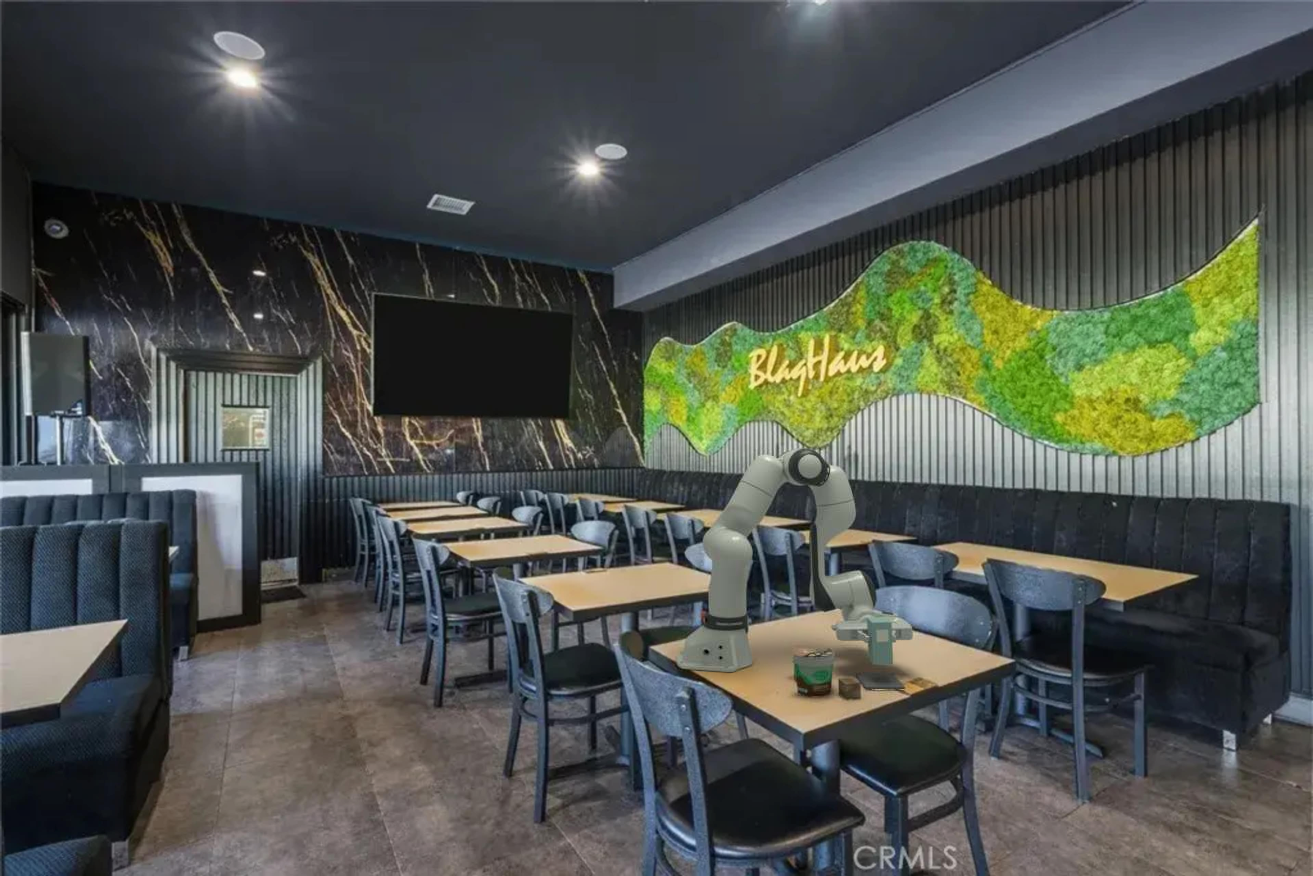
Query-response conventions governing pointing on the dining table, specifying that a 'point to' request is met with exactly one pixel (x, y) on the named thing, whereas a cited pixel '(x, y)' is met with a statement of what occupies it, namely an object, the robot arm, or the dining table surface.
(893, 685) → the mat
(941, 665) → the dining table surface
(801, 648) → the tan rounded cylinder
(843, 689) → the walnut cube
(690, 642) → the robot arm
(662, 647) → the dining table surface
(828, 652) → the food container
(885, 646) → the tall green rectangular block
